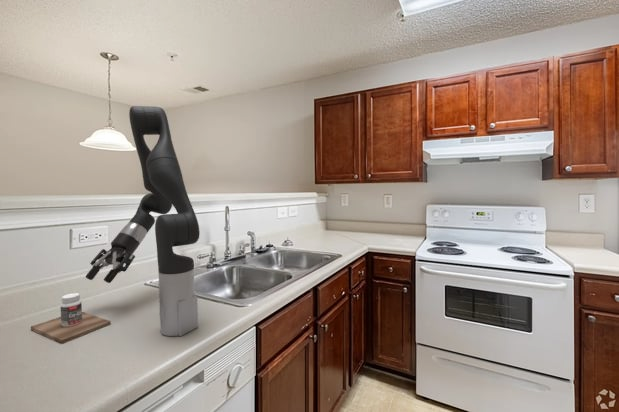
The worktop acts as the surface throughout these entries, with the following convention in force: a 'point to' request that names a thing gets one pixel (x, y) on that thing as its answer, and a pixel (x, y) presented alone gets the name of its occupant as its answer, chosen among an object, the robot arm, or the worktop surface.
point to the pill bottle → (71, 310)
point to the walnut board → (70, 328)
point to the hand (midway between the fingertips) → (97, 280)
